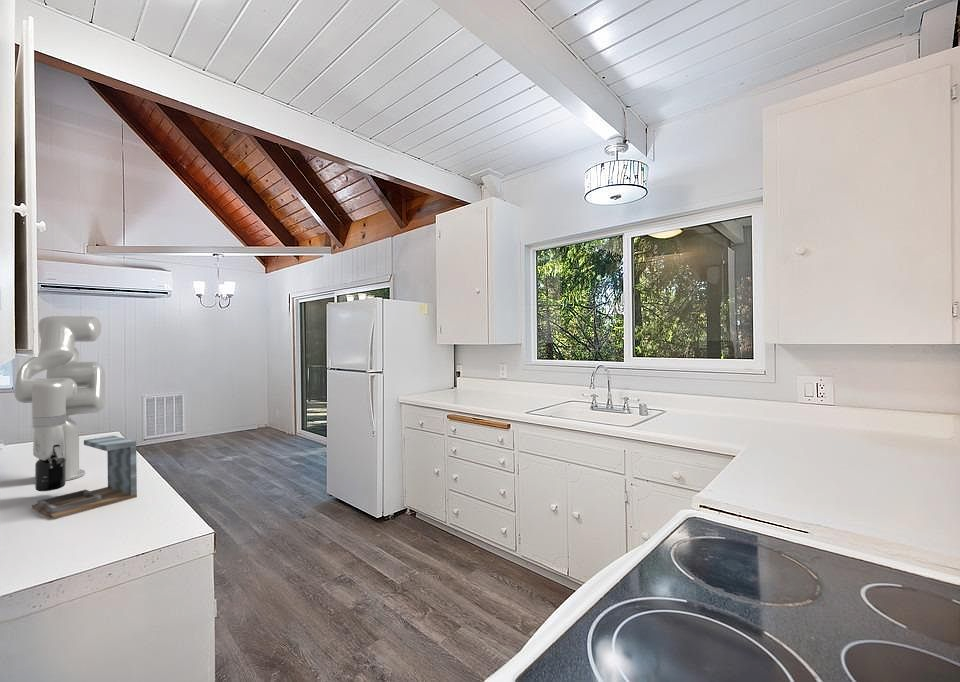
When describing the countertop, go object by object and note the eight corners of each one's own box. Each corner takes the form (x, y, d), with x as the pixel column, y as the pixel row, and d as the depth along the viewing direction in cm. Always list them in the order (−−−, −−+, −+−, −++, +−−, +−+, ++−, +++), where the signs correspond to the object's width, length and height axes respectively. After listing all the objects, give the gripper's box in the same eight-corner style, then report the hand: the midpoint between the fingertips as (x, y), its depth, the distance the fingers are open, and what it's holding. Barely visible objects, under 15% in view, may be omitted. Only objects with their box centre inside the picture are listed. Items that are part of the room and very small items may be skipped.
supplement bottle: (46, 493, 135) (46, 453, 134) (29, 490, 136) (28, 452, 135) (71, 484, 141) (71, 447, 141) (54, 482, 143) (54, 446, 142)
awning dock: (32, 508, 129) (31, 448, 129) (113, 488, 146) (112, 435, 146) (53, 519, 121) (52, 455, 121) (136, 497, 138) (136, 440, 138)
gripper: (22, 419, 139) (24, 475, 140) (43, 427, 130) (45, 487, 131) (54, 415, 145) (55, 469, 146) (76, 422, 137) (77, 479, 137)
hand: (50, 477), depth 138 cm, fingers closed on supplement bottle, 6 cm apart
